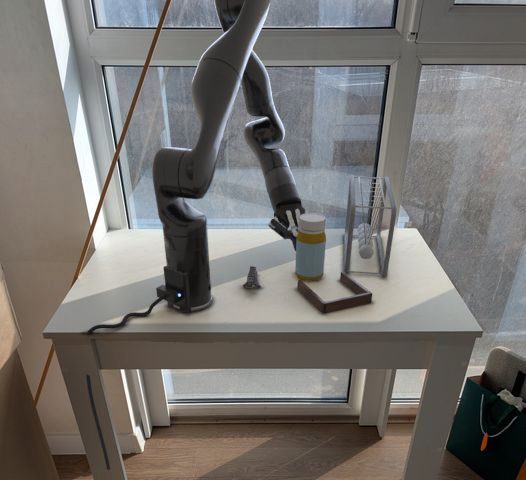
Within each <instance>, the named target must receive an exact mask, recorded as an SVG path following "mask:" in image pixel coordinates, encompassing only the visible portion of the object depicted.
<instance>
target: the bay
mask: <svg viewBox="0 0 526 480" xmlns="http://www.w3.org/2000/svg"><path fill="white" fill-rule="evenodd" d="M339 282H340V283H341V284H343V285H344V286H345V287H346V288H348V289H349V290H351V291H352V292H353V293H354V294H355V295H350V296H346V297H340V298H337V299H336V298H335V299H332V300H331V299H330V300H327V301H325V300H324V299H323V298H322V297H320V296H319V295H318V294H317V293H316V292H315V291H314V290H313V289H312V288H310V287H309V286H308V285H307V284H306V283H305V282H304V281H303V280H302V279H297V282H296V283H297V284H296V285H297V286H296V290H297V291H298V292H299V293H300V294H301V295H302V296H303V297H304V298H305V299H306V300H307V301H309V303H310V304H312V305H313V306H314V307H315V308H316V309H317V310H318V311H319V312H320V313H322V314H327V313H333V312H337V311H341V310H346V309H350V308H355V307H360V306H364V305H368V304H372V302H373V301H372V300H373V292H372V291H370V289H368V288H367V287H365V286H364V285H362V284H361V283H359V282H358V281H357V280H356V279H355V278H353V277H351V275H349V273H348V274H346V273H345V272H344V271H340V276H339Z"/></svg>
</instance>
